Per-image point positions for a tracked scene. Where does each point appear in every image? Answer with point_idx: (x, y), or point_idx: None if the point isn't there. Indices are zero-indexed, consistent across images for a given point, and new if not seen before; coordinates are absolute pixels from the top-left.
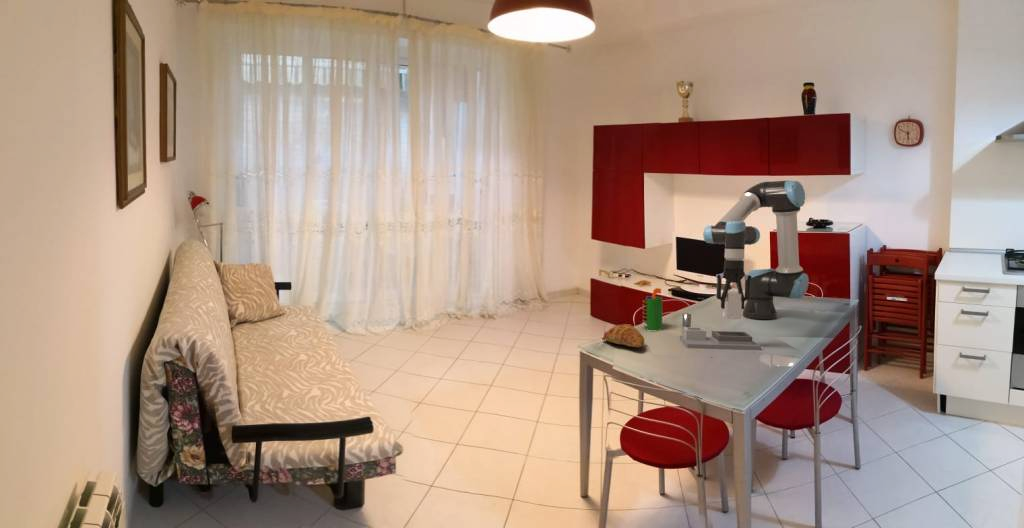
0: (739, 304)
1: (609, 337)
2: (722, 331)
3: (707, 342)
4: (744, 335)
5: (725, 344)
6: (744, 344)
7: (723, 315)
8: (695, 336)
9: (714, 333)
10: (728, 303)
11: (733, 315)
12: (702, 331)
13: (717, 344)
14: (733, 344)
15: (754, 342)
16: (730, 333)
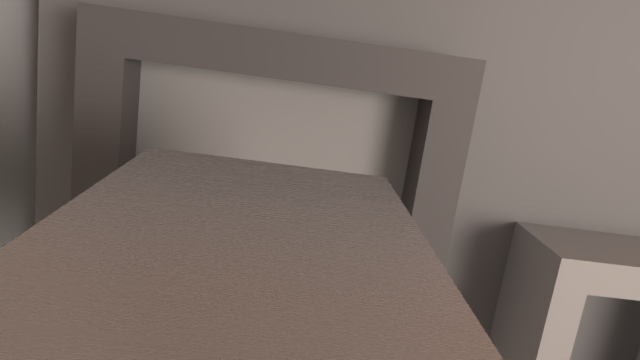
0: (58, 250)
1: None
2: None
3: (549, 113)
4: None
5: (405, 6)
6: (196, 8)
7: None
8: (636, 246)
9: (443, 262)
10: (457, 307)
11: (277, 178)
12: (598, 258)
13: (491, 5)
14: (318, 5)
15: (45, 126)
16: None
